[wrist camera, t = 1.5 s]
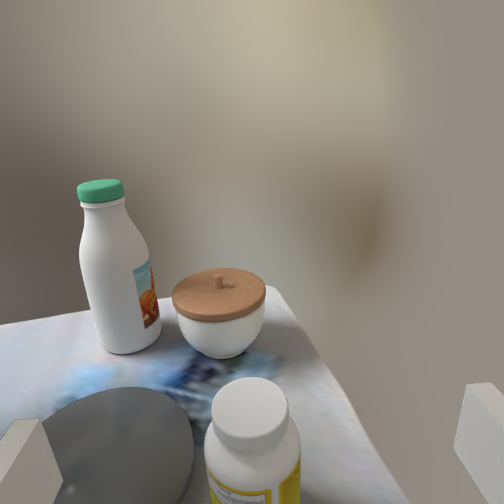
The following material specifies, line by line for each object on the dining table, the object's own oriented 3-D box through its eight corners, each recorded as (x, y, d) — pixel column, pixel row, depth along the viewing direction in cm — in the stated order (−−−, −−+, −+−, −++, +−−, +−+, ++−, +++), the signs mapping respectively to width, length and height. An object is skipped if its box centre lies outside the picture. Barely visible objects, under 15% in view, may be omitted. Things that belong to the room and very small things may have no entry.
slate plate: (-54, 581, 23) (-63, 568, 23) (58, 401, 37) (54, 389, 37) (177, 574, 23) (174, 561, 23) (204, 395, 37) (202, 384, 36)
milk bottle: (131, 363, 42) (93, 195, 34) (86, 345, 45) (43, 188, 37) (174, 328, 48) (151, 177, 40) (132, 314, 52) (103, 173, 43)
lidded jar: (283, 353, 42) (282, 283, 39) (196, 386, 38) (185, 311, 35) (244, 310, 51) (241, 249, 48) (170, 332, 47) (159, 268, 43)
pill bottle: (274, 463, 30) (272, 357, 26) (316, 538, 25) (323, 422, 20) (202, 496, 28) (186, 387, 23) (233, 587, 23) (219, 468, 18)
